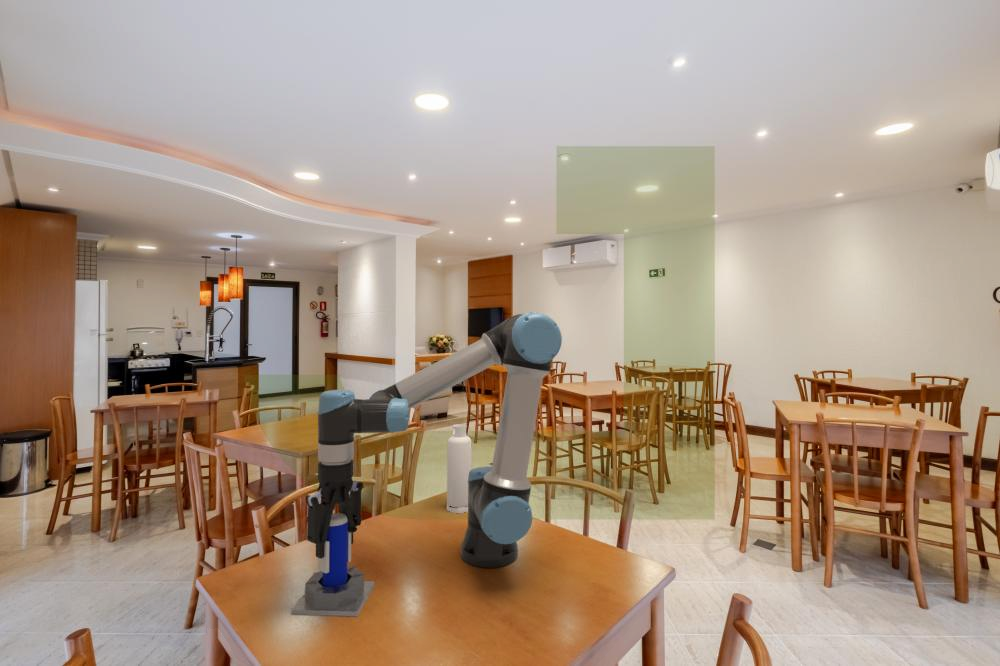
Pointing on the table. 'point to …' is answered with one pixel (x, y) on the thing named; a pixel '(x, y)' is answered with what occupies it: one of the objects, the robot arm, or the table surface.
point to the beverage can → (337, 551)
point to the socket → (334, 596)
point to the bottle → (458, 469)
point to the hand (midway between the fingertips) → (334, 565)
